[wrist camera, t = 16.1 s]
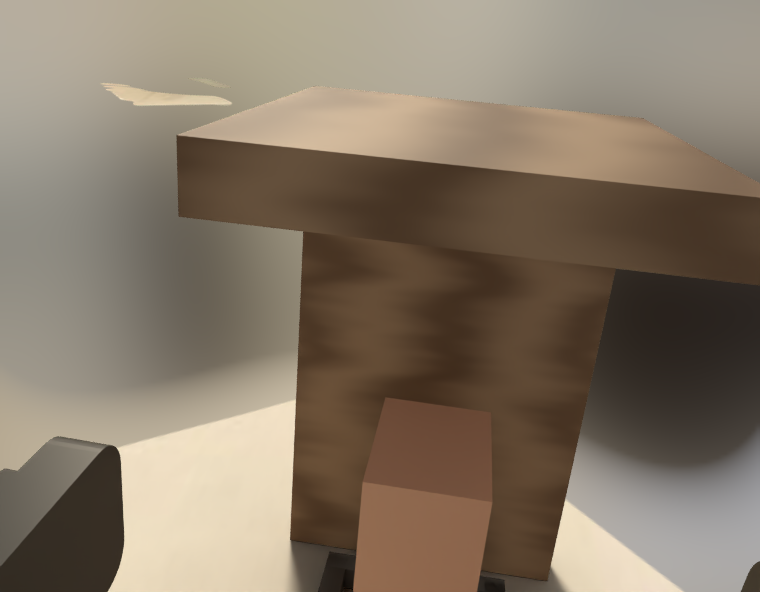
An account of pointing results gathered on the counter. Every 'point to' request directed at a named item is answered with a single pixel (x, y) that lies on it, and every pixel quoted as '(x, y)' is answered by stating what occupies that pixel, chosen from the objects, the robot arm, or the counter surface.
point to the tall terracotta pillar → (425, 500)
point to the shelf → (460, 276)
